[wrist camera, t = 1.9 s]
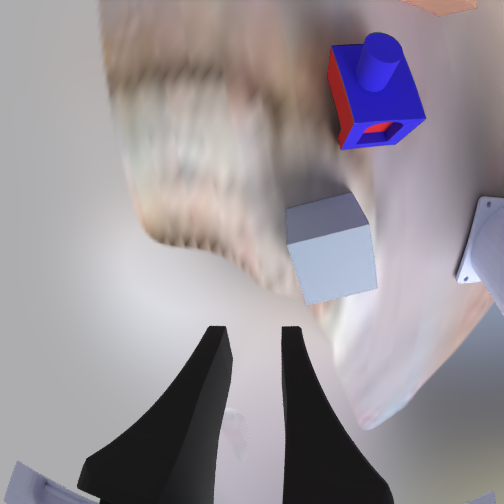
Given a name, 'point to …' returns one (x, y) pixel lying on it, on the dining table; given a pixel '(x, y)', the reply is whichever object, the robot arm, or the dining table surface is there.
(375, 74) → the toy building block
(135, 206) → the dining table surface
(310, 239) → the slate blue block
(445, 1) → the terracotta block
